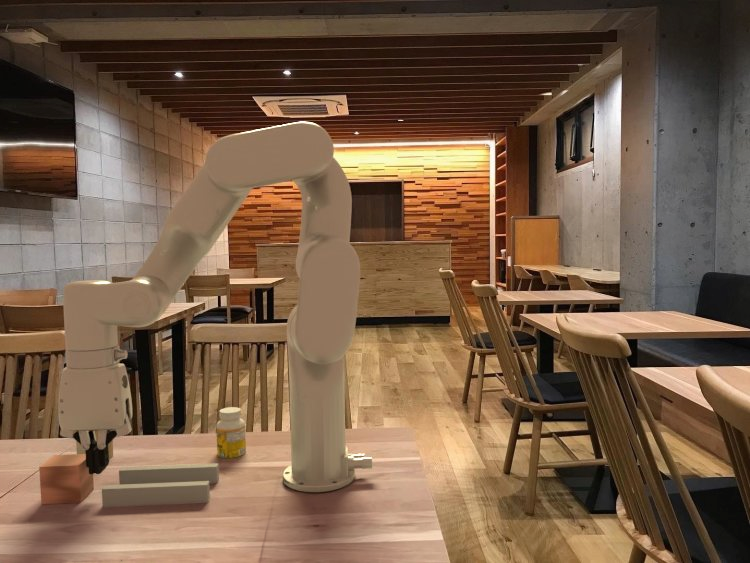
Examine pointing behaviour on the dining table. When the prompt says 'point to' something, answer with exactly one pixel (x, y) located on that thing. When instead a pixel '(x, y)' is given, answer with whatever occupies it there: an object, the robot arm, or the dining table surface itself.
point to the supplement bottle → (230, 433)
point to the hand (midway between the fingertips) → (98, 470)
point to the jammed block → (65, 479)
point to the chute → (161, 485)
